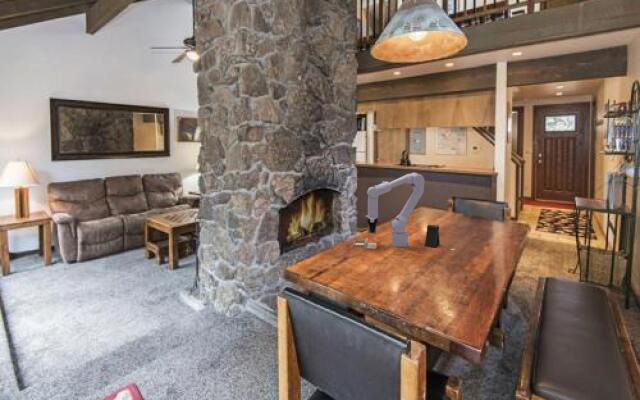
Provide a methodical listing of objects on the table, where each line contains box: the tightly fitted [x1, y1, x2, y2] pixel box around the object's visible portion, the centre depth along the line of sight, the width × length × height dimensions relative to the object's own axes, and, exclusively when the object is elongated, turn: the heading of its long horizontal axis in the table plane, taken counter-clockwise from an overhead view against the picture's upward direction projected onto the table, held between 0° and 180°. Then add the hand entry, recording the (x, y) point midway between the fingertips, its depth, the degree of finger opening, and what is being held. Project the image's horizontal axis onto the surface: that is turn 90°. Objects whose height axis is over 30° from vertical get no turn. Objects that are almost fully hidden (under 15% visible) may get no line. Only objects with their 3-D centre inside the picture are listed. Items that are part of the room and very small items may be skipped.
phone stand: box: [424, 224, 441, 249], centre depth 211 cm, size 9×6×12 cm, turn 144°
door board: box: [352, 237, 378, 250], centre depth 210 cm, size 13×10×4 cm
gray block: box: [367, 224, 377, 235], centre depth 208 cm, size 4×4×4 cm
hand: (372, 231), depth 208 cm, fingers closed on gray block, 4 cm apart
